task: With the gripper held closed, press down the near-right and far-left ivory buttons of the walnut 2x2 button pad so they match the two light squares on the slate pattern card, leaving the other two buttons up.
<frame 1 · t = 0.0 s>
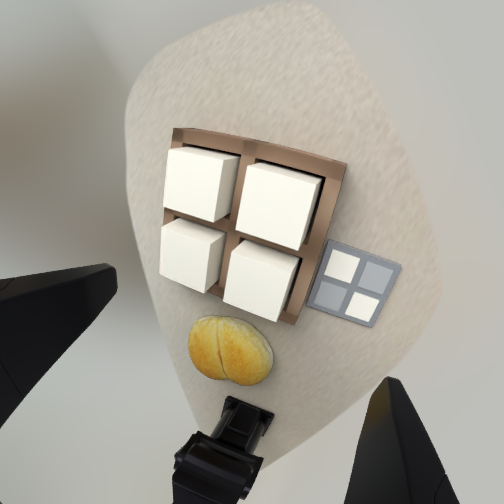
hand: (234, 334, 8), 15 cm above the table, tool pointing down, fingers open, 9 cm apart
pattern card: (352, 285, 21), on the table
button pad: (247, 218, 23), on the table
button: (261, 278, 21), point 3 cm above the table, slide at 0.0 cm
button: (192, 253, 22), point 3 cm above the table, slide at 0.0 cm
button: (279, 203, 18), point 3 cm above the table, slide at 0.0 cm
bread roll: (233, 343, 29), on the table
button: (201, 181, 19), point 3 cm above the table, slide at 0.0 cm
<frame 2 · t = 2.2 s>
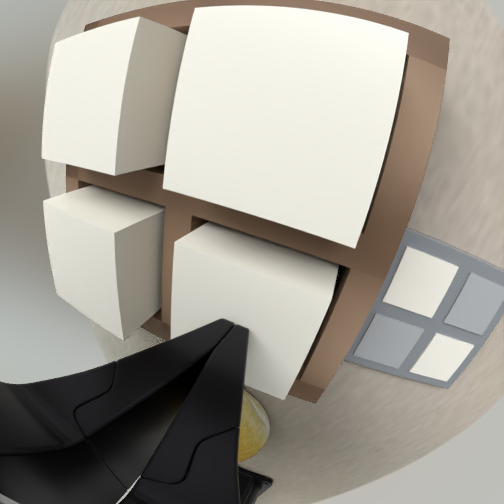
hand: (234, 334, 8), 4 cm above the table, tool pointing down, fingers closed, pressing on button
pattern card: (431, 319, 9), on the table
button pad: (217, 181, 10), on the table
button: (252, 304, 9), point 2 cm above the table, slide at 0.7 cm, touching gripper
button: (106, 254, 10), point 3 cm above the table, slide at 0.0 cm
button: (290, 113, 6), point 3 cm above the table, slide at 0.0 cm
bread roll: (207, 397, 17), on the table
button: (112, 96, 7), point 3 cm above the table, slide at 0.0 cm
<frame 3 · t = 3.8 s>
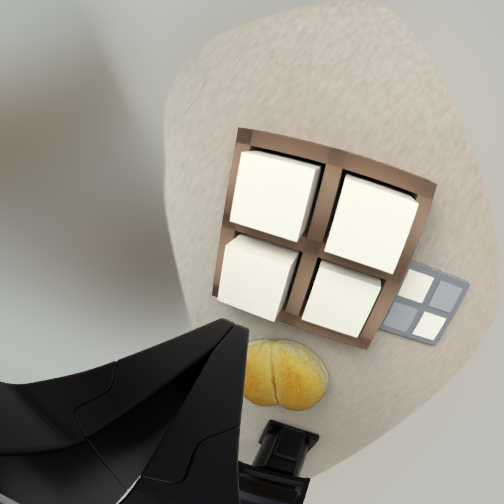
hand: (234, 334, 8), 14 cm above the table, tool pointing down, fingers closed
pattern card: (422, 304, 19), on the table
button pad: (317, 235, 20), on the table
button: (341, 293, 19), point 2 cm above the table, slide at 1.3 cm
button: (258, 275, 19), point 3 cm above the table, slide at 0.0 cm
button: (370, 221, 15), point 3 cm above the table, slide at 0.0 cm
bread roll: (282, 367, 26), on the table
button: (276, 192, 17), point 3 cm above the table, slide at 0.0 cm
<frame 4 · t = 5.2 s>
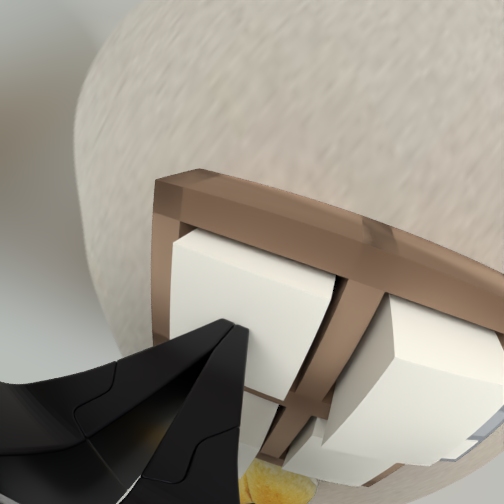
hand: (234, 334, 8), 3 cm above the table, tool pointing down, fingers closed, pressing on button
pattern card: (453, 429, 10), on the table
button pad: (316, 359, 11), on the table
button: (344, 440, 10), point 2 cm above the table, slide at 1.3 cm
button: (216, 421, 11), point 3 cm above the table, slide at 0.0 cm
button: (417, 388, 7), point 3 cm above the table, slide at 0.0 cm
bread roll: (262, 463, 18), on the table
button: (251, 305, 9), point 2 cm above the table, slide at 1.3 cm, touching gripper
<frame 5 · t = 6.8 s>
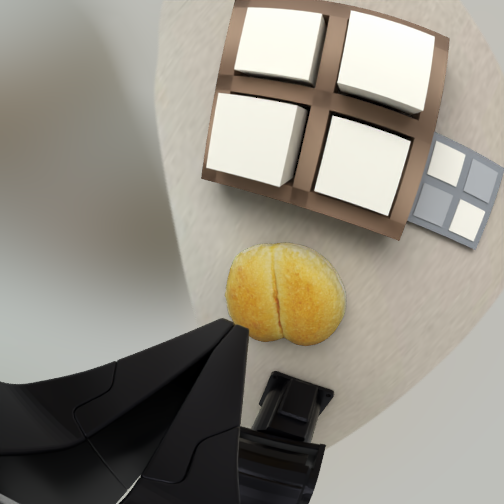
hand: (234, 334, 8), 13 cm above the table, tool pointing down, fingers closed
pattern card: (455, 191, 14), on the table
button pad: (326, 103, 15), on the table
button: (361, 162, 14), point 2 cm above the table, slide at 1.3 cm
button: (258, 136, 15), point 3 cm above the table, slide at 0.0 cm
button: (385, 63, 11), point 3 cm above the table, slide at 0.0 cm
bread roll: (287, 288, 22), on the table
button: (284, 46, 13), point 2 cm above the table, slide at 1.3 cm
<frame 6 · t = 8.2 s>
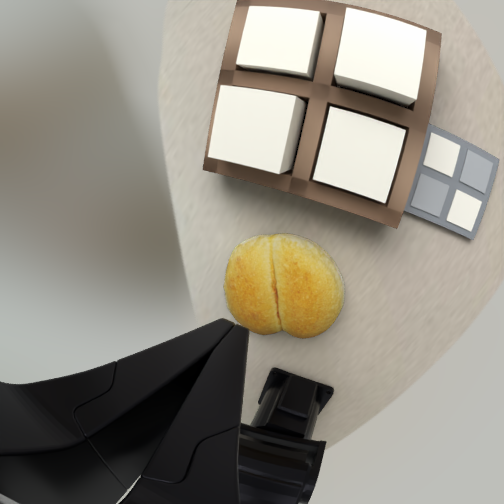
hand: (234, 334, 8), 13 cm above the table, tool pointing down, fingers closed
pattern card: (452, 182, 14), on the table
button pad: (325, 98, 16), on the table
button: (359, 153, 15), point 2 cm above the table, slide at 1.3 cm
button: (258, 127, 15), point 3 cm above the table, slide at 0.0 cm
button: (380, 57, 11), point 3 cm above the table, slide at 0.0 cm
bread roll: (285, 281, 22), on the table
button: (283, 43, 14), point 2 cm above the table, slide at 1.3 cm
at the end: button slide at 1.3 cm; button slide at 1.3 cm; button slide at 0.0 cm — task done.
